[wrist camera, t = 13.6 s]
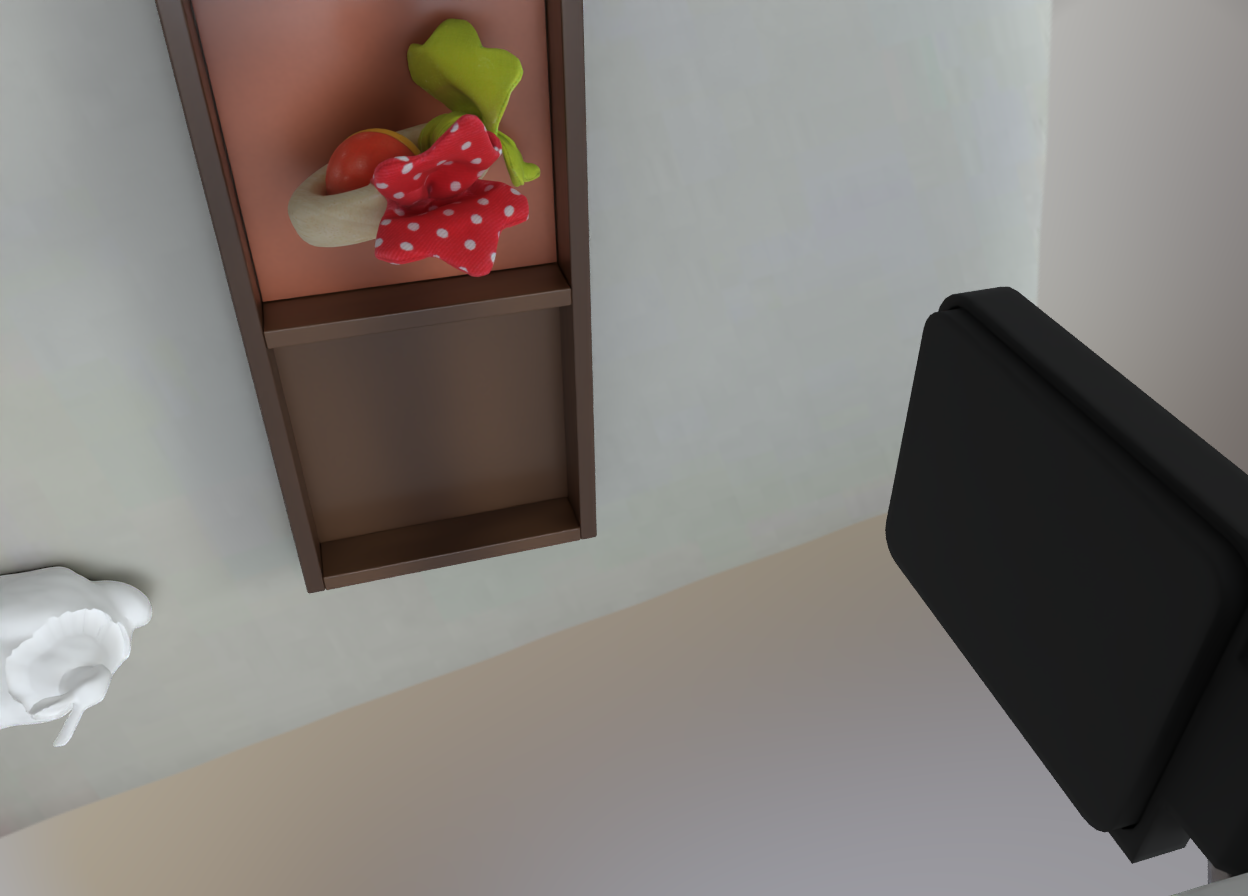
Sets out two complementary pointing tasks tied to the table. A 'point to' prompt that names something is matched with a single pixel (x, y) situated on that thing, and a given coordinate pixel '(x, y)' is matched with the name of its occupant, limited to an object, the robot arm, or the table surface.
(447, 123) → the bird rattle
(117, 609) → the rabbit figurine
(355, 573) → the wooden divided tray
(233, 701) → the table surface
